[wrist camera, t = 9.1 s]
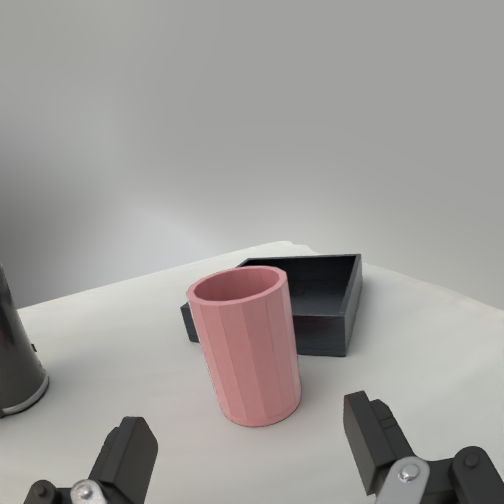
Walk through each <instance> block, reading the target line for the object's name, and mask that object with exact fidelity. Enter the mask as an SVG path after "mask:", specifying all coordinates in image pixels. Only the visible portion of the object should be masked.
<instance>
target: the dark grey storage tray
mask: <svg viewBox="0 0 504 504" xmlns="http://www.w3.org/2000/svg"><path fill="white" fill-rule="evenodd" d="M245 266H270V267H276V268H279V269H281V270H283V271H285V272H286V275H287V280H288V287H289V295H290V302H291V310H292V318H293V326H294V334H295V342H296V350H297V354H304V355H320V356H340V357H345V356H346V353H347V349H348V345H349V341H350V337H351V333H352V329H353V325H354V320H355V316H356V312H357V307H358V302H359V298H360V293H361V288H362V262H361V254H344V255H320V256H295V257H269V258H248V259H247V260H245V261H244V262H242V263H241V264H240V265H238V266H237V267H235V268H239V267H245ZM180 309H181V312H182V316H183V319H184V323H185V326H186V329H187V333H188V336H189V339H190V341H194V342H199V339H198V335H197V332H196V328H195V325H194V321H193V318H192V314H191V310H190V307H189V303H188V302H187V303H186V304H185V305H183V306H182V307H180Z"/></svg>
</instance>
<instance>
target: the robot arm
mask: <svg viewBox="0 0 504 504" xmlns="http://www.w3.org/2000/svg"><path fill="white" fill-rule="evenodd" d="M34 351H35V352H37V351H36V349H35V347H34V344H31V343H30V341H29V339H28V336H27V334H26V332H25V329H24V327H23V325H22V322H21V320H20V317H19V315H18V312H17V309H16V307H15V304H14V301H13V299H12V296H11V293H10V290H9V287H8V284H7V281H6V278H5V274H4V271H3V267H2V264H1V260H0V418H1V417H3V416H4V415H7V414H13V413H16V412H19V411H22V410H24V409H25V408H27V407H29V406H30V405H32V404H33V403H34V402H36V401H37V400H38V399H39V398H40V397H41V396H42V394H43V393H44V391H45V390H46V388H47V385H48V376H47V374H46V372H45V370H44V369H43V368H42V365H41V363H40V361H39V360H38V358H37V356H36V354H35V352H34ZM343 423H344V429H345V433H346V436H347V439H348V442H349V444H350V447H351V450H352V453H353V456H354V459H355V462H356V465H357V467H358V470H359V473H360V476H361V479H362V482H363V485H364V488H365V491H366V494H367V496H368V495H371V494H374V493H375V495H376V498H377V499H376V501H375V503H374V504H504V483H503V481H502V479H501V477H500V475H499V474H498V472H497V470H496V468H495V467H494V465H493V463H492V462H491V460H490V458H489V457H488V455H487V453H486V452H485V451H484V450H483V449H482V448H480V447H476V446H469V447H466V448H463V449H462V450H460V451H459V452H458V453H457V454H456V455H455V457H454V458H450V459H444V460H439V461H426V460H423V459H422V458H419V457H417V456H416V455H415V454H414V452H413V451H412V449H411V447H410V445H409V443H408V441H407V439H406V438H405V436H404V434H403V432H402V430H401V428H400V427H399V425H398V423H397V421H396V419H395V418H394V417H393V414H392V412H391V410H390V409H389V407H388V406H387V405H386V404H385V403H383V402H382V401H380V400H379V399H377V400H374V401H369V399H368V397H367V395H366V393H365V392H364V391H359V392H355V393H352V394H348V395H345V396H344V414H343ZM157 453H158V443H157V440H156V438H155V436H154V435H153V433H152V431H151V430H150V428H149V426H148V425H147V423H146V421H145V419H144V418H143V417H129V416H126V417H124V418H123V420H122V422H121V424H120V426H119V427H115V428H114V429H113V430H112V431H111V432H110V433H109V434H108V436H107V438H106V440H105V442H104V446H102V449H101V453H99V455H98V457H97V460H96V462H95V464H94V466H93V469H92V471H91V473H90V475H89V477H88V479H86V480H81V481H78V482H77V483H75V484H74V485H73V487H72V488H56V487H55V486H54V485H53V484H52V483H51V482H49V481H47V480H39V481H37V482H35V483H34V484H33V485H32V486H31V488H30V490H29V493H28V495H27V497H26V499H25V501H24V504H144V501H145V497H146V493H147V489H148V486H149V482H150V478H151V474H152V471H153V467H154V464H155V460H156V456H157Z"/></svg>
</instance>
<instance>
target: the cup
mask: <svg viewBox="0 0 504 504" xmlns="http://www.w3.org/2000/svg"><path fill="white" fill-rule="evenodd" d="M186 295H187V299H188V303H189V307H190V310H191V314H192V318H193V321H194V325H195V328H196V332H197V335H198V339H199V342H200V345H201V349H202V352H203V355H204V359H205V362H206V365H207V368H208V372H209V375H210V378H211V381H212V384H213V387H214V390H215V393H216V396H217V399H218V401H219V404H220V407H221V409H222V412H223V413H224V415H225V416H226V417H227V418H228V419H230V420H231V421H233V422H235V423H237V424H240V425H244V426H251V427H260V426H267V425H271V424H274V423H277V422H279V421H281V420H283V419H285V418H286V417H288V416H289V415H290V414H291V413H292V412H293V411H294V410H295V409H296V408H297V406H298V404H299V402H300V400H301V386H300V377H299V368H298V359H297V350H296V342H295V334H294V326H293V318H292V310H291V302H290V295H289V287H288V280H287V275H286V272H285V271H283V270H281V269H279V268H276V267H270V266H245V267H239V268H232V269H228V270H224V271H221V272H217V273H214V274H211V275H209V276H207V277H204V278H202V279H200V280H198V281H197V282H195V283H194V284H192V285H191V286H190V288H189V289H188V291H187V292H186Z"/></svg>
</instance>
